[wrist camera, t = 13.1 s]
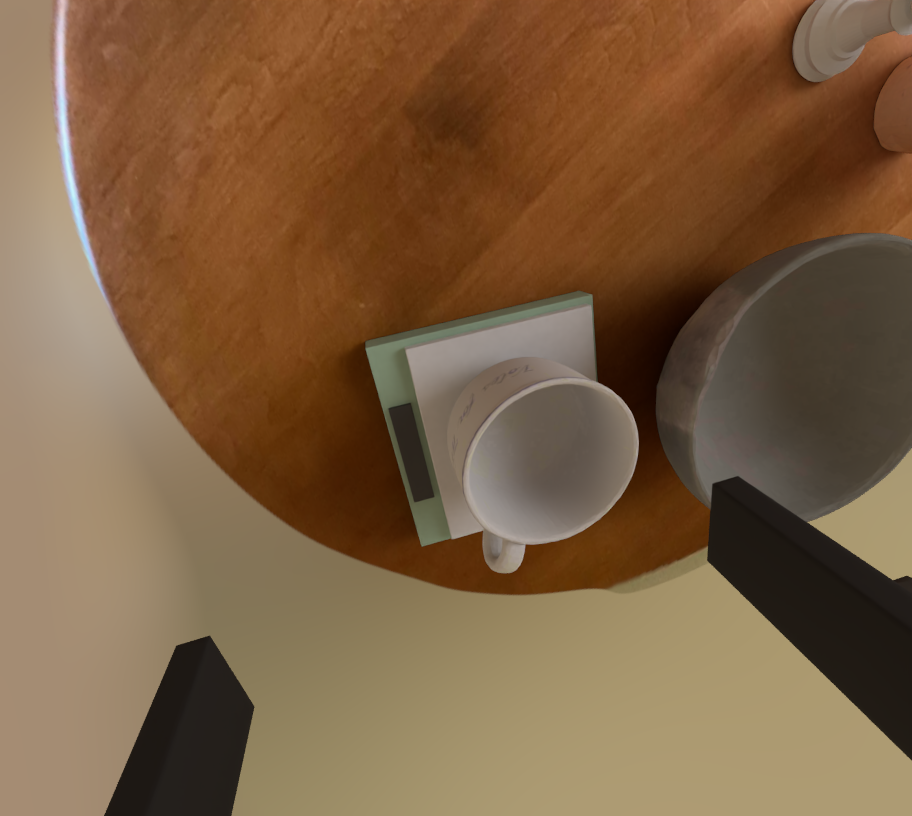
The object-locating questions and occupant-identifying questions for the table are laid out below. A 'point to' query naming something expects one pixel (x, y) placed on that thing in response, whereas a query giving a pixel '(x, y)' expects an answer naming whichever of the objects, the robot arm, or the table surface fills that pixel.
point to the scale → (445, 377)
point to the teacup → (538, 454)
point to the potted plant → (895, 110)
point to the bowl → (796, 375)
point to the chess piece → (844, 33)
